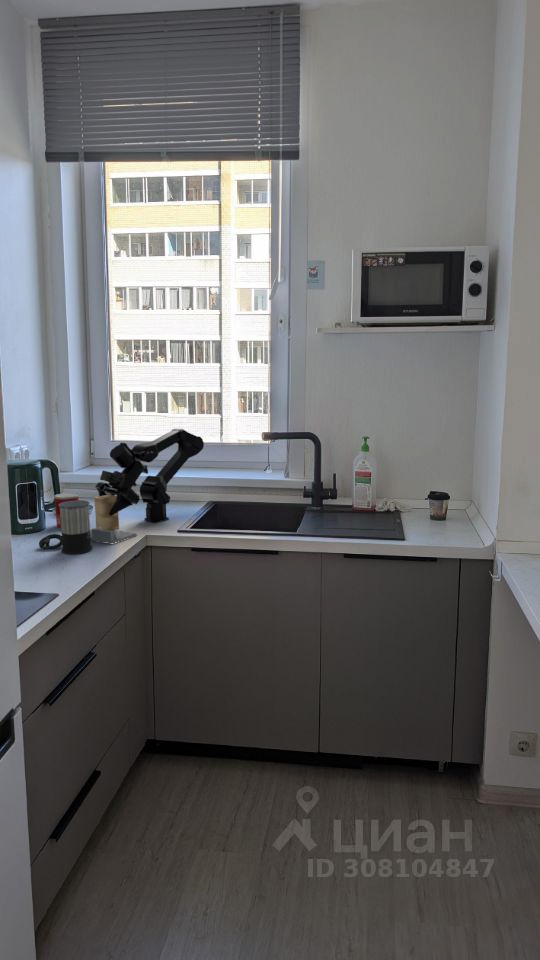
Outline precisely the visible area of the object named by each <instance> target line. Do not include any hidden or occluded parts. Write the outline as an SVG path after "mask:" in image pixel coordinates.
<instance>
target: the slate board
mask: <svg viewBox="0 0 540 960" xmlns="http://www.w3.org/2000/svg"><path fill="white" fill-rule="evenodd" d="M134 536H135V537H137V533H136V532H132V531H124V530H120V528H119V529H115V530H113V531H109V530H102V529H101V527H100V526H99V527H96V526H95V527H94V528H91V542H93V541H99V542H98V543H100V542H108V543H115V542H118V541H121V540H124V539H127V538H130V539H132V538H131V537H133V538H135V537H134ZM127 540H128V539H127ZM124 541H125V540H124ZM121 542H122V541H121Z"/></svg>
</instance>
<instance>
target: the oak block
mask: <svg viewBox="0 0 540 960" xmlns="http://www.w3.org/2000/svg"><path fill="white" fill-rule="evenodd" d="M93 498H94V499H93V500H94V511H95V512H94V513H95V528H96V527H99V526H100V527H101V529H102V530H109V531H113V530H115V529H119V530H120V521H119V519H120V518H119V512H117V513H115V514H114V515H112V516H110V515H109V512H110V510H111V509H112V507H113V505H114V503H115V502H116V500H117V495H105V496H99V495H98V496H94V497H93Z"/></svg>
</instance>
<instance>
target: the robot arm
mask: <svg viewBox="0 0 540 960" xmlns="http://www.w3.org/2000/svg"><path fill="white" fill-rule="evenodd" d="M175 444H177V451H176V452H175V453H174V454H173V455H172V456H171V458H170V459H169V460H168V461H167V463H166V464H165V465H164V466H163V467H162V468H161V469H160V470H159V472H157V474H156V475H155V476H154V475H147V474H149V469H148V465H147V464H143V463H151V462H153V461H155V460H156V459H157V457H158V456H159V454H160V453H161V452H163V451H164V450H166V449H168V448H170V447H172V446H173V445H175ZM204 444H205V442H204V439H203V437H201V436H197V435H195V434H193V433H190V432H188V431H186V430H185V429H183V428H173V429H171V430H170V431H169V432H167V433H164V434H163V435H161V436H159V437H158V438H156V439H154V440H152V441H148V442H143V443H138V444H136V445H134V446H133V447H132V448H130V447H129V446H128V444H127V443H126V442H120V443H119V444H118V445H116V446H114V447H113V448H112V449H111V450H110V452H109V457H110V458H111V459H112V460H113V461H114V462H115V463H116V464H117V465H118V466H119V468H121V469H122V470H121V472H120V471H118V470H114V471H113V472H111V471H107V470H102V472H101V474H100V478H99V480H100V481H101V482H97V483H96V485H95V486H94V487H95V489H96V491H97V492H98V497H99V496H105V495H114V496H117V500H116V502H115V503H114V505H113V507H112V509H111V510H110V512H109V515H110V516H112V515H114V514H115V513H117V512H118V513H119V512H120V511H122V510H124V509H126V508H128V507H130V506H133V504H134V505H138V503H139V502H140V498H141V499H142V503H143V504H144V503H146V508H145V517H144V521H149V522H152V523H158V522H161V521H163V522H164V521H167V520H170V517H167V505H168V504H170V500H171V496H170V495H169V494H168V493H167V491H168V489H167V487H168V484H169V482H170V481H171V480H172V479H173V478H174V476H175V475H176V474H177V473H178V472H179V471H180V470H181V468H183V466H184V465H185V463H186V462H187V461H188V460H189V459H190V458H193V457H195V456H197V455H198V454H199V453H201V451H202V450H203V449H204V446H205V445H204ZM142 462H143V463H142ZM142 473H143V474H146V475H147V476H146V477H145V479H144V480H143V481H142V482H141V485H140V486H139V494H138V493H137V492H136V491H135V490H133V489H132V488H133V487H136V486H137V485H138V484H137V483H136V482H137V480H138V479H139V478H140V476H141V475H142ZM103 481H104V482H103ZM107 482H108V483H107Z"/></svg>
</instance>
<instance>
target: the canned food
mask: <svg viewBox="0 0 540 960" xmlns="http://www.w3.org/2000/svg"><path fill="white" fill-rule="evenodd" d="M75 500H79V494H77V493H75V492H64V493H59V494H58V493H57V494H55V495H54V508H55V519H56V520H55V522H56V526H57V528H58V529H61V518H60V507H59V504H60V503H62V502H67V501H75Z"/></svg>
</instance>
